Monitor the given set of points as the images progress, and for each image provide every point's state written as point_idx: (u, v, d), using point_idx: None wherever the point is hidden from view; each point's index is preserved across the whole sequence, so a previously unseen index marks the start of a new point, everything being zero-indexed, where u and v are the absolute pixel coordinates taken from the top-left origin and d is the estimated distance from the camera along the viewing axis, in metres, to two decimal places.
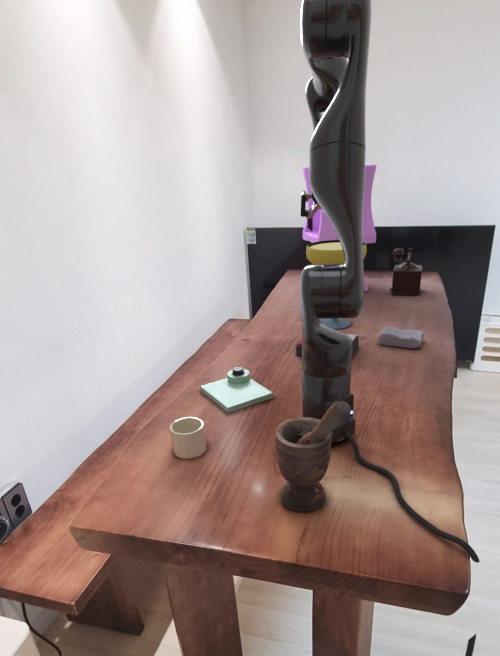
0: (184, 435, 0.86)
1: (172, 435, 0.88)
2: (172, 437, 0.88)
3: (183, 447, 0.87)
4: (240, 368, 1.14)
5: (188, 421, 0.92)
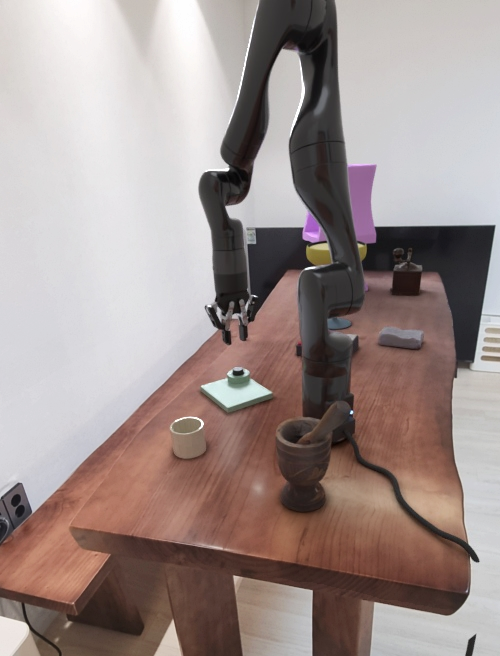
0: (184, 435, 0.86)
1: (172, 435, 0.88)
2: (172, 437, 0.88)
3: (183, 447, 0.87)
4: (240, 368, 1.14)
5: (188, 421, 0.92)
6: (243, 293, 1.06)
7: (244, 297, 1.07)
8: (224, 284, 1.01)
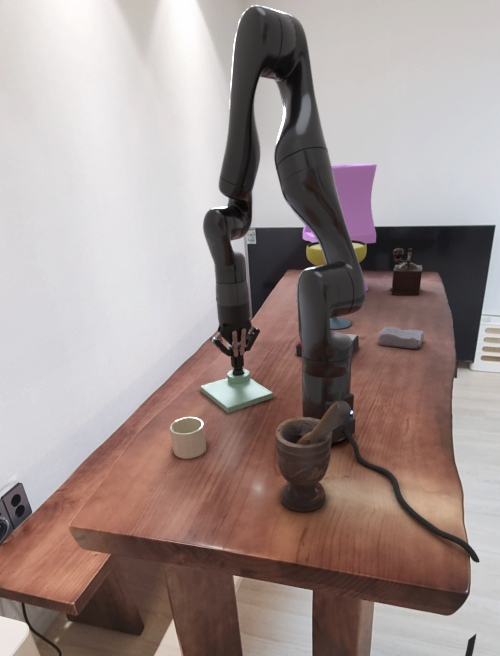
0: (184, 435, 0.86)
1: (172, 435, 0.88)
2: (172, 437, 0.88)
3: (183, 447, 0.87)
4: None
5: (188, 421, 0.92)
6: (245, 322, 1.09)
7: (246, 325, 1.10)
8: (227, 314, 1.05)
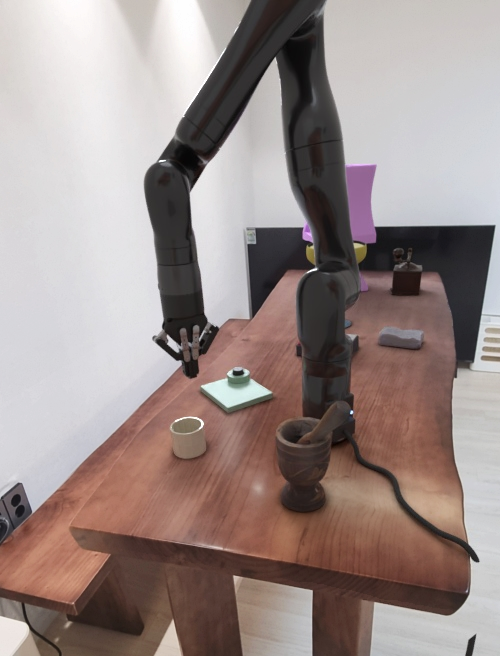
0: (184, 435, 0.86)
1: (172, 435, 0.88)
2: (172, 437, 0.88)
3: (183, 447, 0.87)
4: (240, 368, 1.14)
5: (188, 421, 0.92)
6: (199, 317, 0.85)
7: (200, 321, 0.85)
8: (171, 306, 0.80)
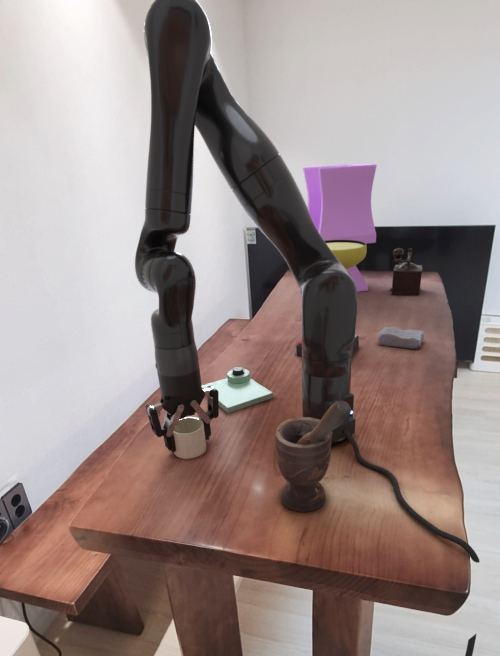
0: (184, 435, 0.86)
1: None
2: None
3: (183, 447, 0.87)
4: (240, 368, 1.14)
5: (188, 422, 0.92)
6: (196, 392, 0.86)
7: (198, 397, 0.87)
8: (169, 386, 0.81)
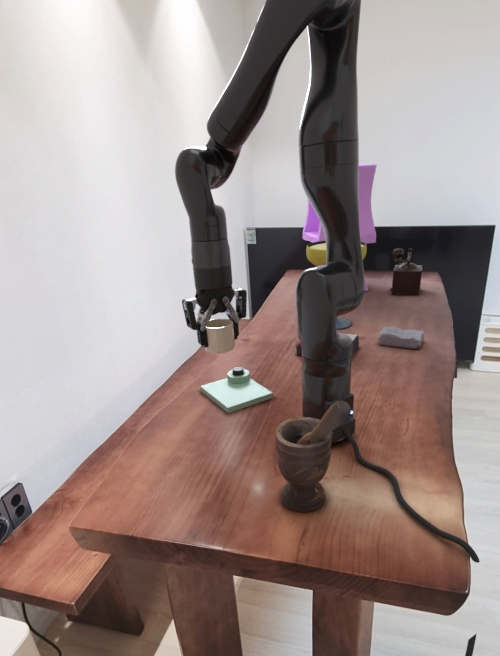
0: (216, 329, 0.94)
1: None
2: None
3: (215, 341, 0.96)
4: (240, 368, 1.14)
5: (218, 323, 1.00)
6: (227, 290, 0.94)
7: (228, 295, 0.95)
8: (204, 279, 0.89)
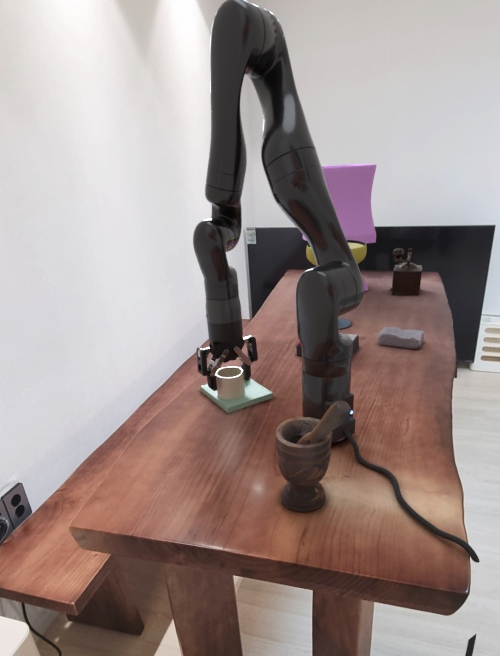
0: (228, 379, 1.03)
1: (217, 379, 1.05)
2: (217, 381, 1.05)
3: (227, 389, 1.05)
4: None
5: (229, 370, 1.09)
6: (238, 340, 1.03)
7: (239, 345, 1.03)
8: (217, 332, 0.98)
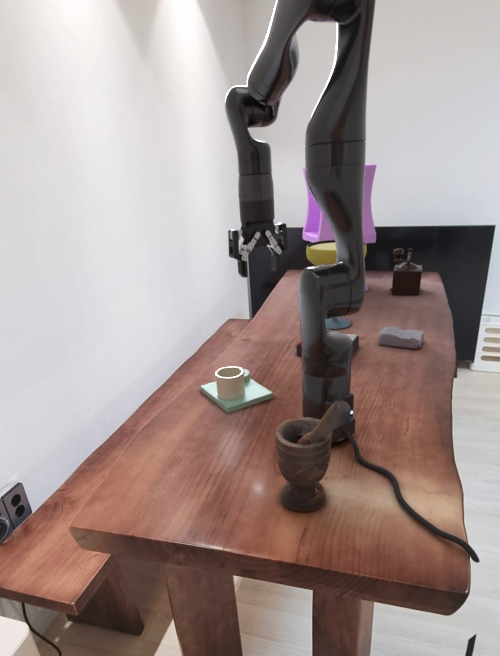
0: (228, 379, 1.03)
1: (217, 379, 1.05)
2: (217, 381, 1.05)
3: (227, 389, 1.05)
4: None
5: (229, 370, 1.09)
6: (269, 224, 1.02)
7: (270, 230, 1.03)
8: (250, 211, 0.98)
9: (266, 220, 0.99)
